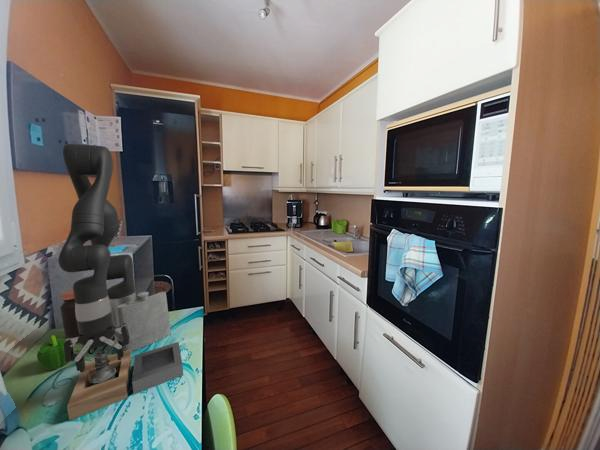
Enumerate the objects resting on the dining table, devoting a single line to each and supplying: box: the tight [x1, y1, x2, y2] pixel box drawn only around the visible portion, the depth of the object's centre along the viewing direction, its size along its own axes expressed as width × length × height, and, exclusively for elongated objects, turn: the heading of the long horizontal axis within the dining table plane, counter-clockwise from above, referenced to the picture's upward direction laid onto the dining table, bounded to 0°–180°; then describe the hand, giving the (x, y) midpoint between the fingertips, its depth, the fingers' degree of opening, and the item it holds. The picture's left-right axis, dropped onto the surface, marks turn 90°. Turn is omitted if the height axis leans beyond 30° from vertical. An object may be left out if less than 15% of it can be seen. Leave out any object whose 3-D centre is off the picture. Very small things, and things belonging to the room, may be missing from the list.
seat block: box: [131, 341, 184, 395], centre depth 76 cm, size 13×13×4 cm
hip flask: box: [117, 291, 172, 353], centre depth 89 cm, size 16×4×20 cm, turn 140°
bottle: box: [60, 289, 80, 344], centre depth 92 cm, size 7×7×20 cm
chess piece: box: [91, 349, 116, 386], centre depth 70 cm, size 6×6×12 cm
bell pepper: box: [36, 334, 69, 371], centre depth 79 cm, size 8×8×10 cm
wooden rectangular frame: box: [66, 350, 133, 421], centre depth 70 cm, size 18×12×4 cm, turn 32°
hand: (101, 364), depth 69 cm, fingers open, 8 cm apart
